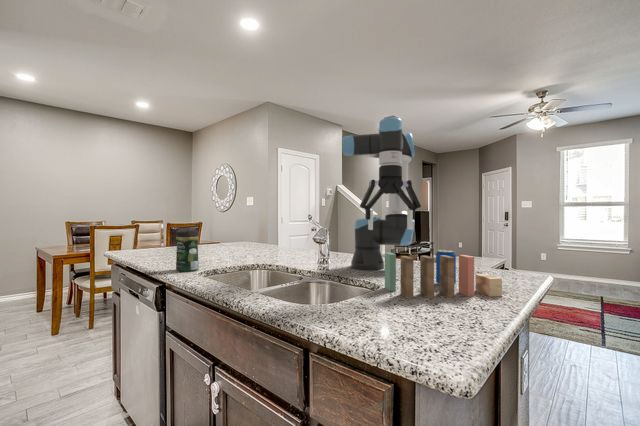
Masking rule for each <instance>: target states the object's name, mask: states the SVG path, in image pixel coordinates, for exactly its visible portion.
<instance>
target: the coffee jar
mask: <svg viewBox="0 0 640 426" xmlns="http://www.w3.org/2000/svg"><path fill="white" fill-rule="evenodd" d="M175 241H176V255H175V257H176V258H175V270H176V271H178V270H179V272H183V271H184V272H185V271H187V272H190V271H192V272H195V271H198V270H199V268H200V266H199V265H200V264H199V245H198V244H199V243H198V242H199V231H198V230H197V229H195V228H189V227H187V228H179V229H177V230H176V234H175ZM184 272H183V273H184ZM185 273H186V272H185Z"/></svg>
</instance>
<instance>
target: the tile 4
mask: <svg viewBox="0 0 640 426" xmlns="http://www.w3.org/2000/svg"><path fill="white" fill-rule="evenodd" d="M439 294H441V295H443V296H444V297H447V298H455V284H454V257H450V256H447V255H440V285H439Z"/></svg>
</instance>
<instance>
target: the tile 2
mask: <svg viewBox="0 0 640 426" xmlns="http://www.w3.org/2000/svg"><path fill="white" fill-rule="evenodd" d="M414 259H415V258H414V257H410V256H407V255H400V295H401V296H402V297H403V298H405V299H407V300H411V299H412V300H413V299H414V268H415V267H414Z"/></svg>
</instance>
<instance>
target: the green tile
mask: <svg viewBox="0 0 640 426" xmlns="http://www.w3.org/2000/svg"><path fill="white" fill-rule="evenodd" d="M384 289H386V290H388V291H389V292H396V291H397V254H396V253H393V252H387V251H386V252H384Z"/></svg>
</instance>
